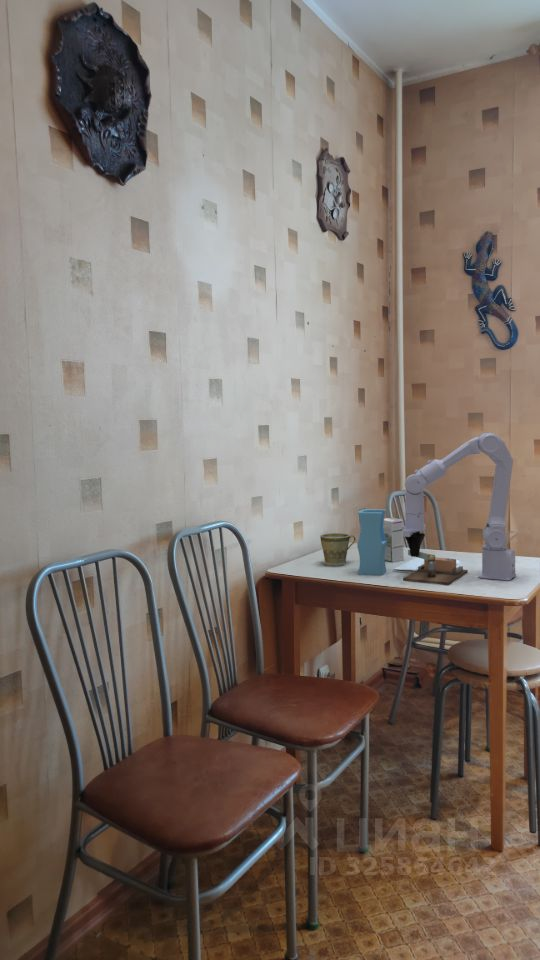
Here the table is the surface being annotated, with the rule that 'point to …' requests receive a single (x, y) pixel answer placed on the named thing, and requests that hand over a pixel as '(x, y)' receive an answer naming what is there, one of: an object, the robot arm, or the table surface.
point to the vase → (372, 542)
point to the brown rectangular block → (443, 564)
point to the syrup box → (393, 539)
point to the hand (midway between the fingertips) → (414, 556)
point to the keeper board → (433, 580)
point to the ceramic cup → (335, 548)
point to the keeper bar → (425, 556)
